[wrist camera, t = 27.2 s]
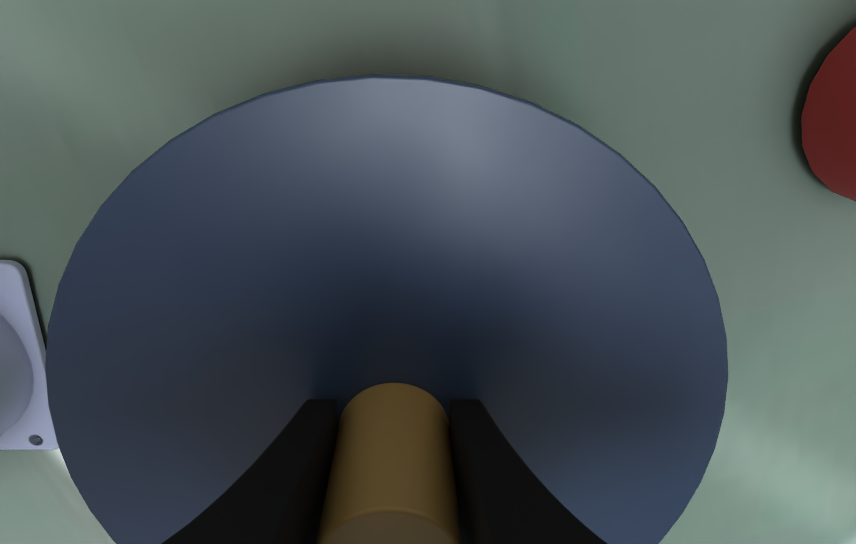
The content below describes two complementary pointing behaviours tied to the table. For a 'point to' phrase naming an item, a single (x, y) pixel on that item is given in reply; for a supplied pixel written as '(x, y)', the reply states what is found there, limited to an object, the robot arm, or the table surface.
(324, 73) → the table surface
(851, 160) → the beer can
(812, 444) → the table surface
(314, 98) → the tin lid
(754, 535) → the table surface
